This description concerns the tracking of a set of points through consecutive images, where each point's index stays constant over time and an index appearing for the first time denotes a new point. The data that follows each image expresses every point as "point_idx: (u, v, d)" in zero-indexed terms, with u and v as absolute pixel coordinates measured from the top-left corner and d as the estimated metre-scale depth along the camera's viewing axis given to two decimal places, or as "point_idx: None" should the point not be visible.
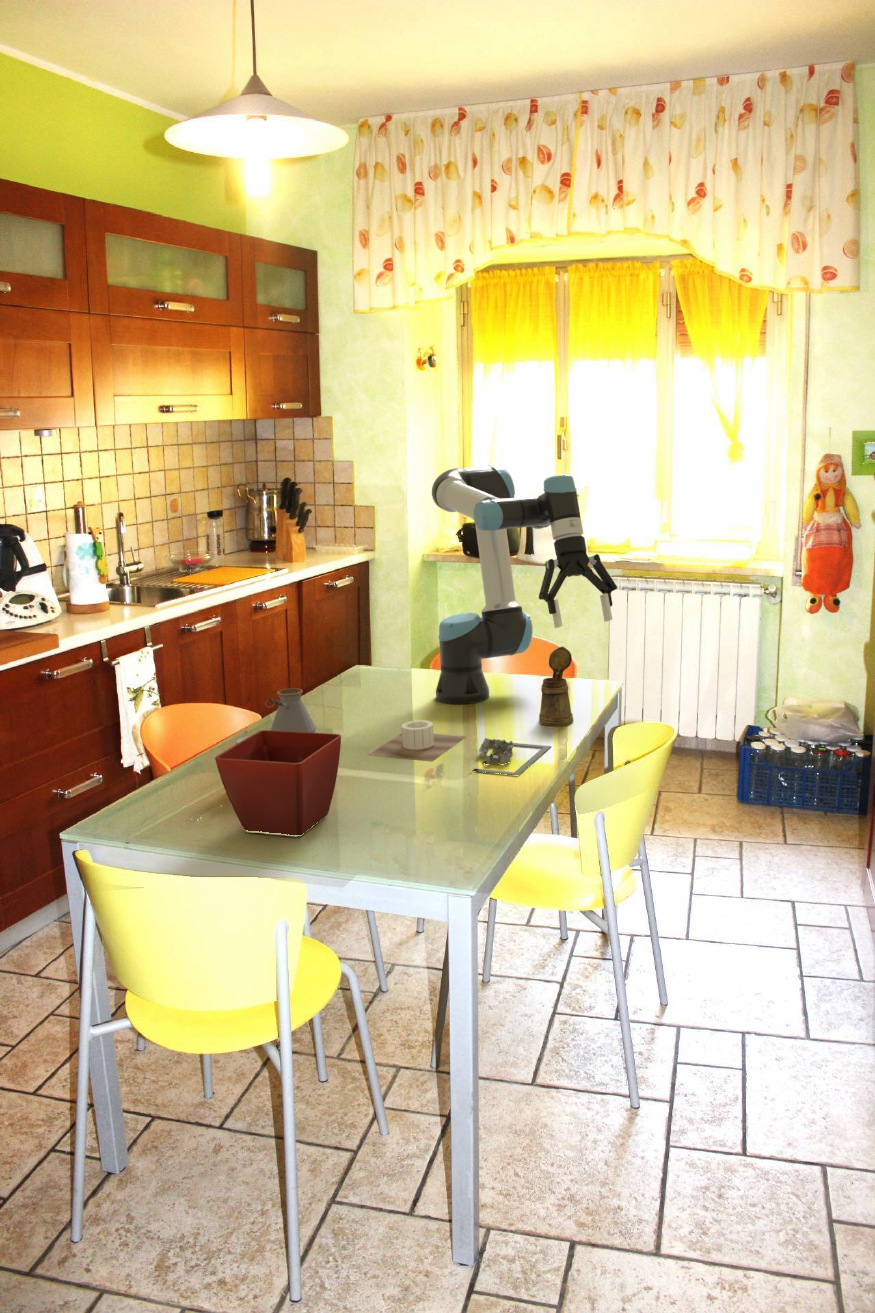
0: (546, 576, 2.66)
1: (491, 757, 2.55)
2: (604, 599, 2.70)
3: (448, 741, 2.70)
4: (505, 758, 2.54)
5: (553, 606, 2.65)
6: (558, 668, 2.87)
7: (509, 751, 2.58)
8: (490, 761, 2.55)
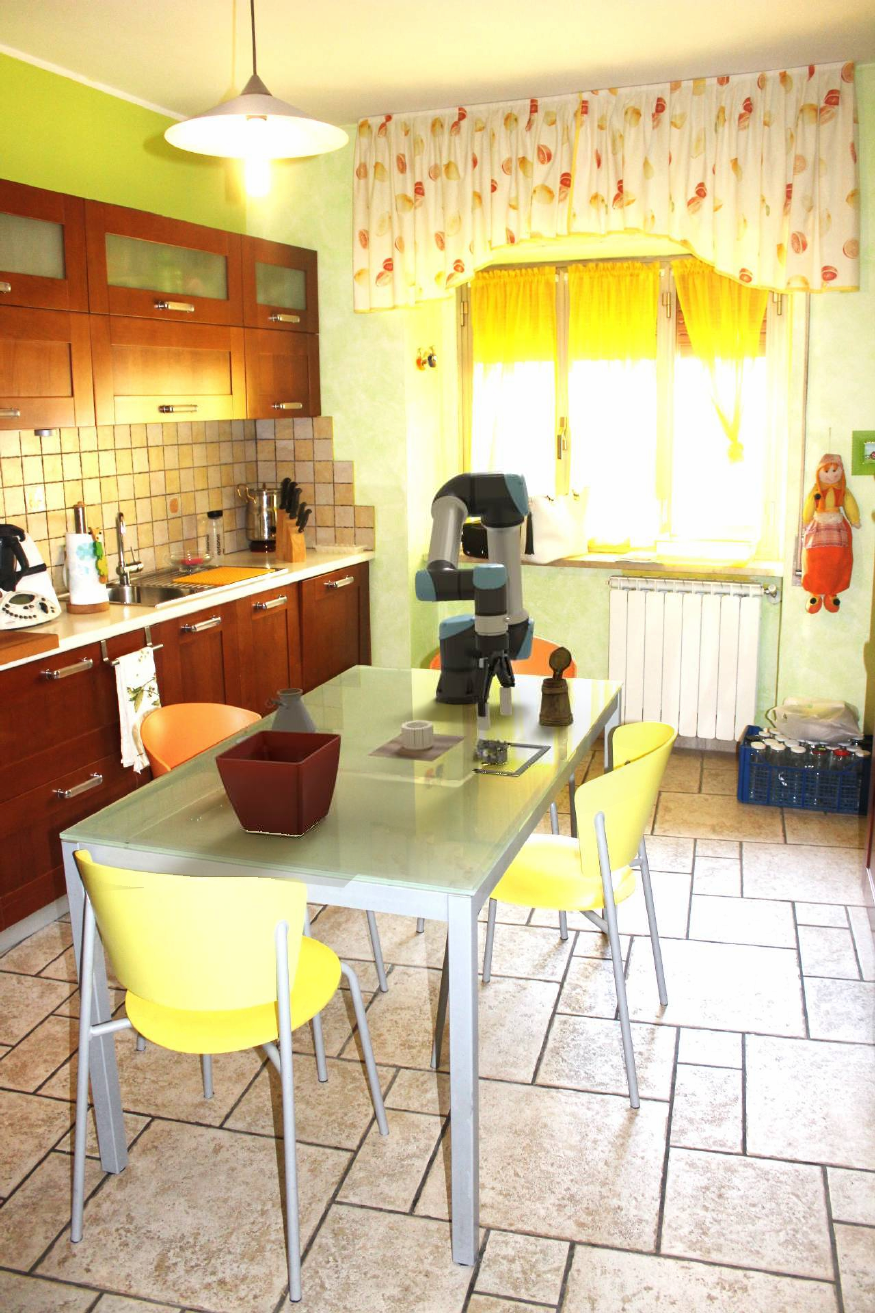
0: (480, 677, 2.47)
1: (488, 757, 2.55)
2: (507, 693, 2.61)
3: (448, 741, 2.70)
4: (503, 758, 2.54)
5: (484, 709, 2.49)
6: (558, 668, 2.87)
7: (505, 751, 2.58)
8: (488, 761, 2.54)
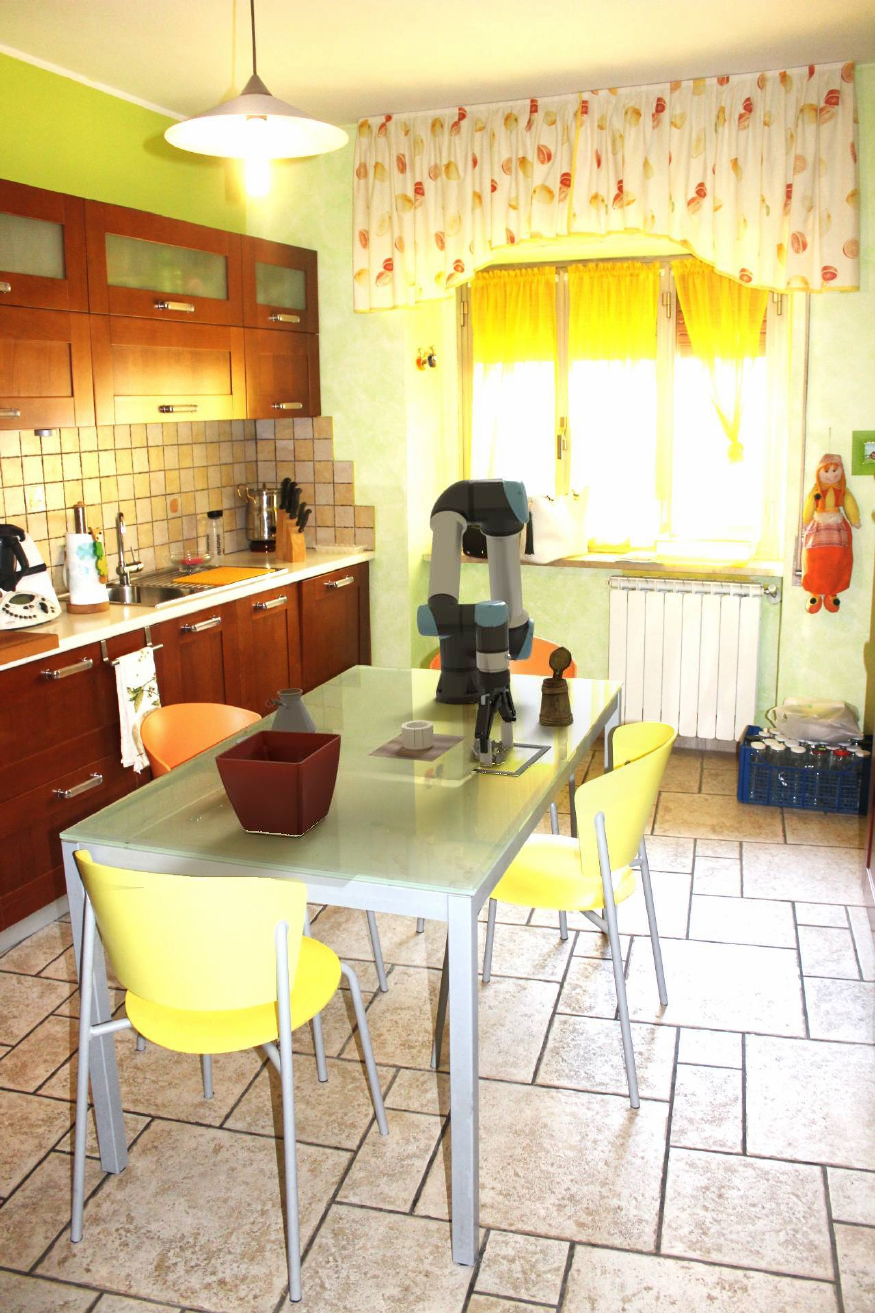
0: (482, 714, 2.49)
1: None
2: (508, 728, 2.63)
3: (448, 741, 2.70)
4: (501, 758, 2.54)
5: (486, 746, 2.51)
6: (558, 668, 2.87)
7: None
8: None
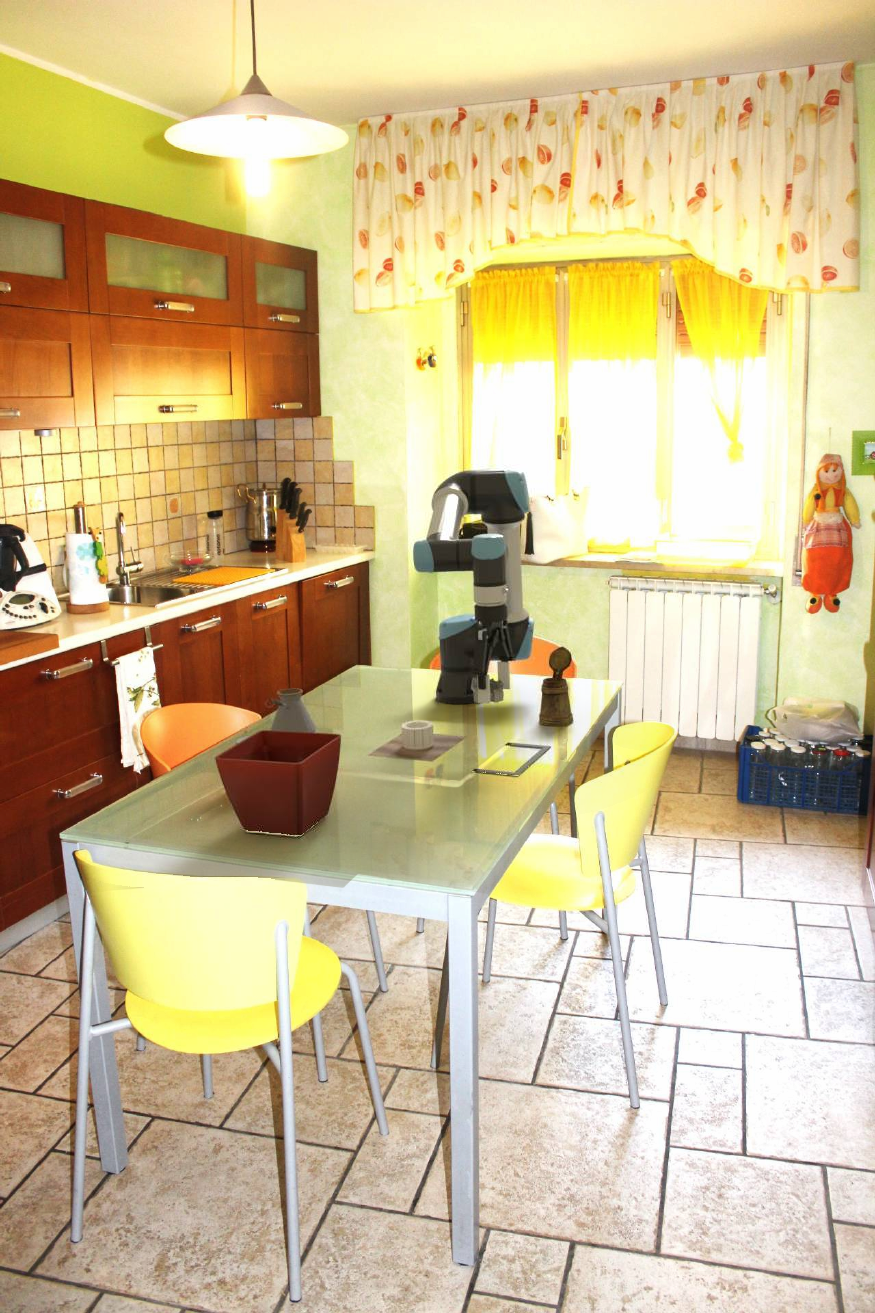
0: (480, 649, 2.46)
1: None
2: (505, 667, 2.60)
3: (448, 741, 2.70)
4: (499, 695, 2.52)
5: (485, 682, 2.49)
6: (558, 668, 2.87)
7: (501, 688, 2.55)
8: None
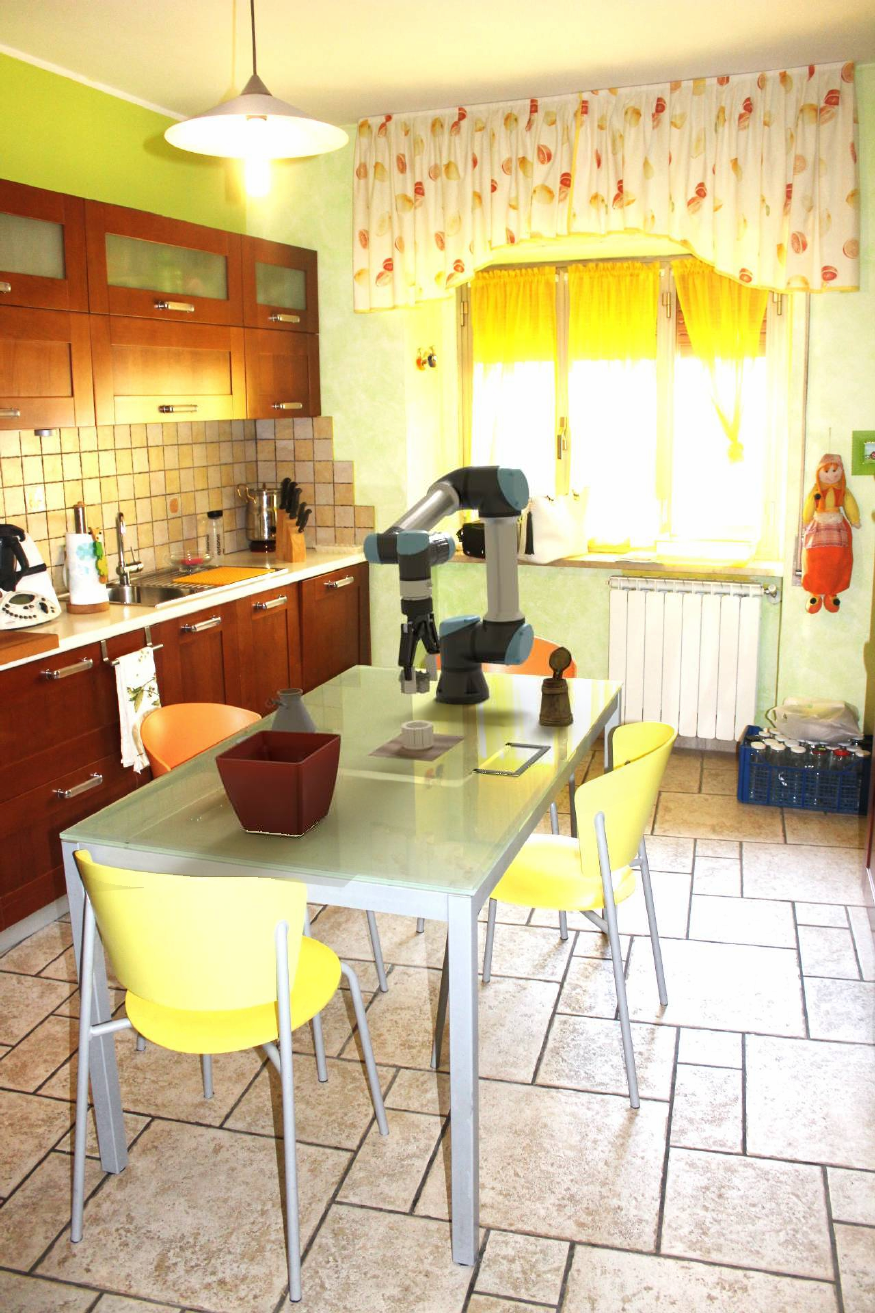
0: (405, 642, 2.54)
1: None
2: (432, 660, 2.67)
3: (448, 741, 2.70)
4: (425, 686, 2.60)
5: (410, 673, 2.56)
6: (558, 668, 2.87)
7: (427, 680, 2.63)
8: None
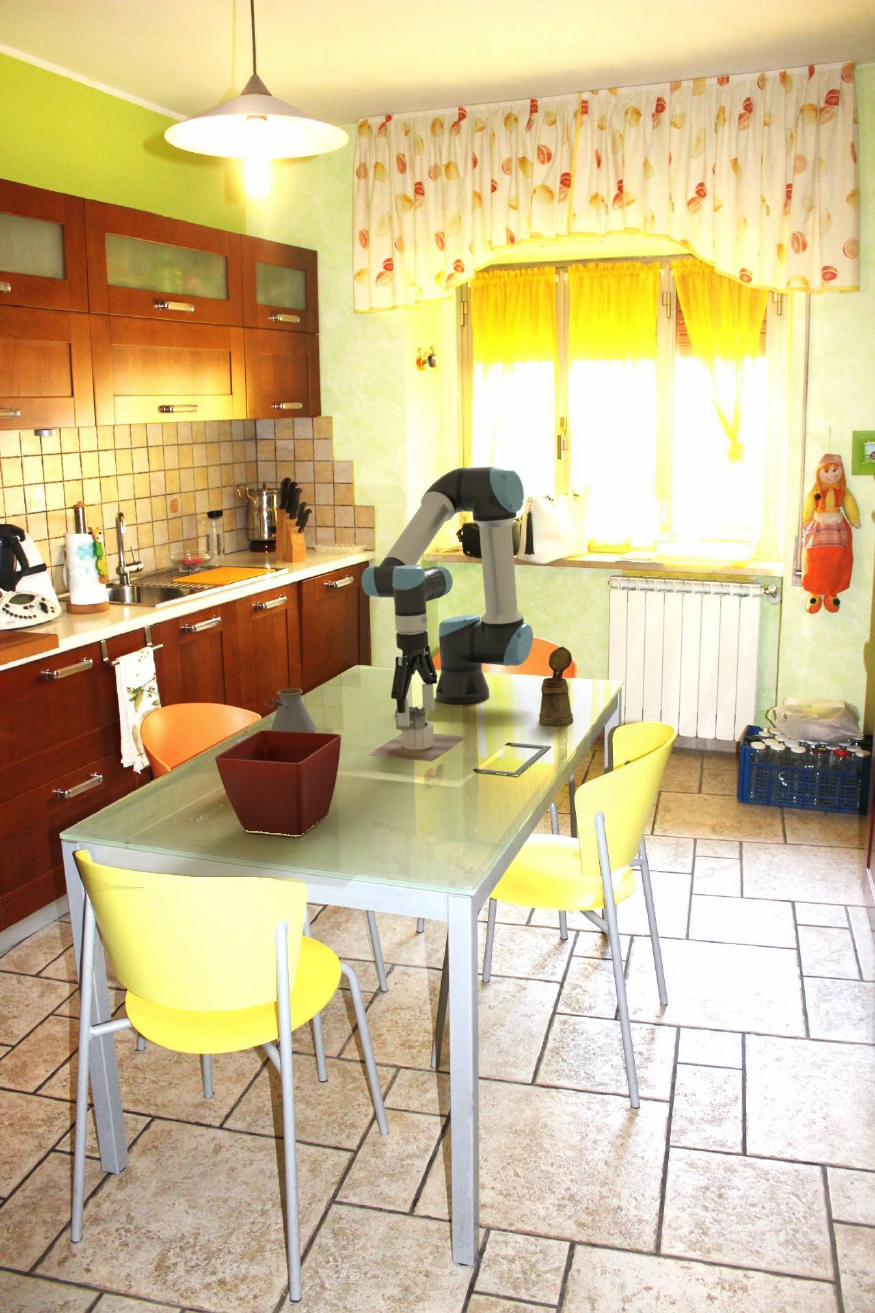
0: (399, 674, 2.56)
1: None
2: (429, 690, 2.70)
3: (448, 741, 2.70)
4: (420, 723, 2.62)
5: (403, 706, 2.58)
6: (558, 668, 2.87)
7: (423, 716, 2.66)
8: (405, 726, 2.62)
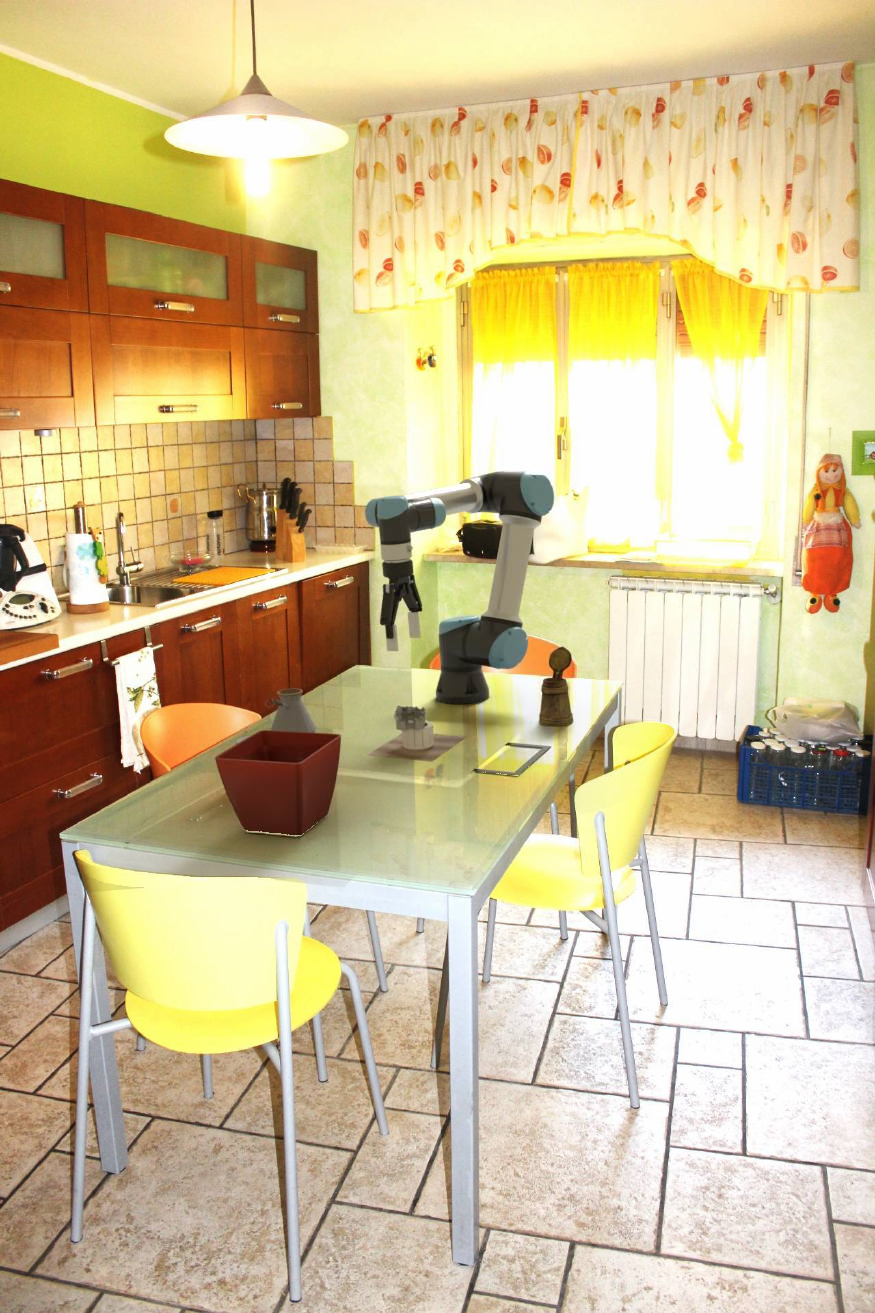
0: (387, 601, 2.66)
1: (406, 722, 2.62)
2: (414, 617, 2.80)
3: (448, 741, 2.70)
4: (420, 723, 2.62)
5: (392, 631, 2.68)
6: (558, 668, 2.87)
7: (423, 716, 2.66)
8: (405, 726, 2.62)
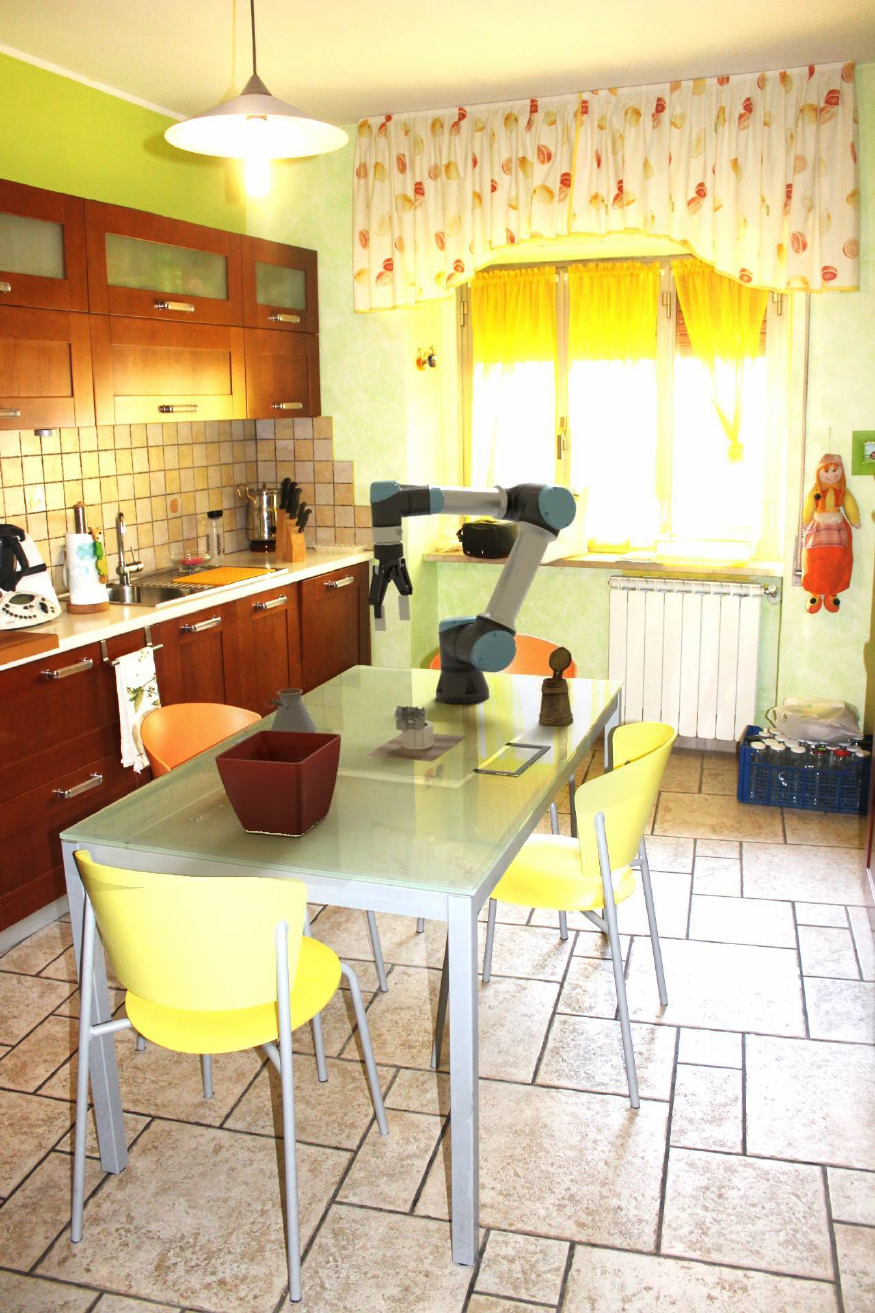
0: (376, 582, 2.74)
1: (406, 722, 2.62)
2: (404, 600, 2.88)
3: (448, 741, 2.70)
4: (420, 723, 2.62)
5: (380, 611, 2.76)
6: (558, 668, 2.87)
7: (423, 716, 2.66)
8: (405, 726, 2.62)
